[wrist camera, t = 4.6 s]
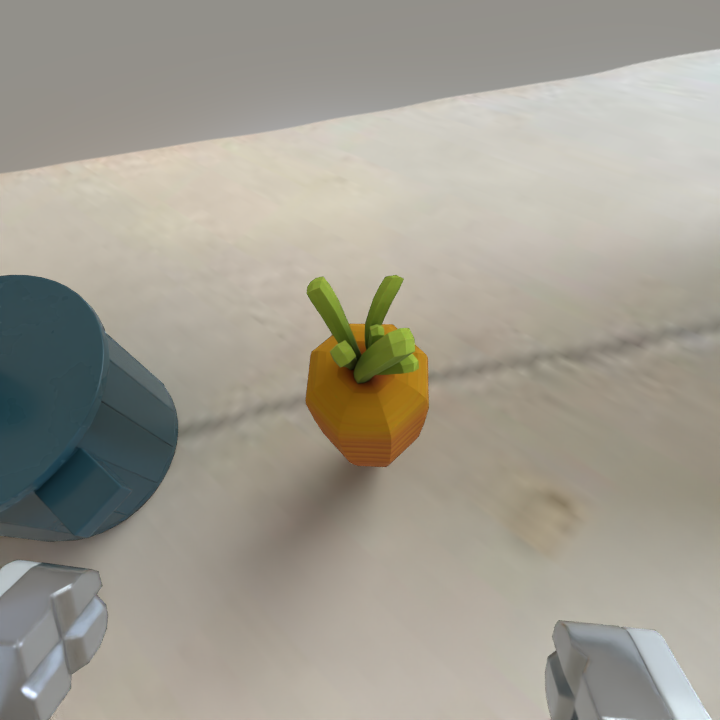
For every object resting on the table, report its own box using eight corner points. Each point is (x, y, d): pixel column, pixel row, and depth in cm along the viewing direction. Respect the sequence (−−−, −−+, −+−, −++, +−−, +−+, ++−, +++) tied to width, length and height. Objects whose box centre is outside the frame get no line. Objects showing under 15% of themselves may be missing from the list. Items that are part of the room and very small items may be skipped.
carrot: (321, 426, 27) (255, 272, 14) (399, 399, 28) (409, 223, 14) (348, 508, 25) (300, 419, 12) (432, 476, 26) (480, 356, 12)
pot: (80, 315, 32) (-17, 231, 24) (247, 453, 27) (190, 401, 19) (-60, 436, 28) (-225, 382, 21) (101, 621, 23) (-39, 639, 16)
